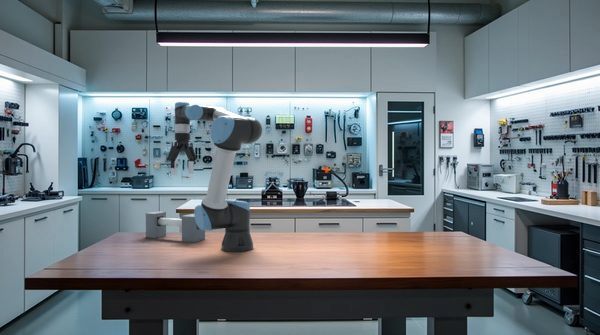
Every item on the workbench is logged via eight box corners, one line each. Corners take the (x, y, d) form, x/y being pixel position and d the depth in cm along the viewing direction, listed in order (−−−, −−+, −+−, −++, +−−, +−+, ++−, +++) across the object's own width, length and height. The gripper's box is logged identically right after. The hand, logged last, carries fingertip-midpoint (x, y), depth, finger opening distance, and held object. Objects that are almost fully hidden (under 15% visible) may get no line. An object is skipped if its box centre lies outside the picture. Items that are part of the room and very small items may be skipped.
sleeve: (205, 239, 223) (205, 214, 222) (194, 242, 214) (194, 216, 214) (192, 237, 226) (192, 213, 225) (181, 240, 218) (181, 215, 217)
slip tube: (195, 227, 222) (195, 219, 222) (190, 228, 218) (190, 220, 218) (158, 224, 232) (158, 216, 232) (152, 225, 228) (152, 217, 228)
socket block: (166, 235, 233) (165, 211, 232) (154, 238, 225) (154, 213, 224) (157, 234, 235) (157, 211, 235) (145, 237, 227) (145, 213, 227)
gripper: (191, 134, 228) (191, 173, 229) (159, 131, 205) (159, 174, 206) (203, 133, 225) (203, 173, 226) (171, 131, 202) (172, 175, 203)
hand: (182, 174), depth 216 cm, fingers open, 13 cm apart
